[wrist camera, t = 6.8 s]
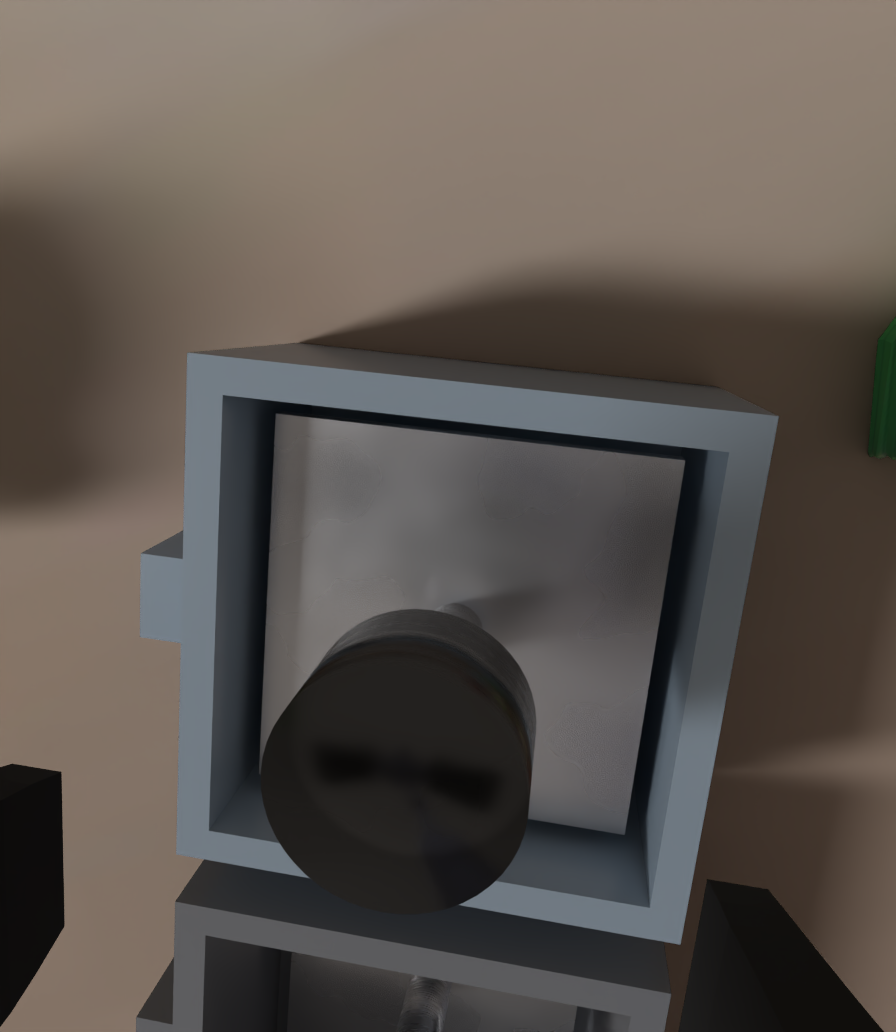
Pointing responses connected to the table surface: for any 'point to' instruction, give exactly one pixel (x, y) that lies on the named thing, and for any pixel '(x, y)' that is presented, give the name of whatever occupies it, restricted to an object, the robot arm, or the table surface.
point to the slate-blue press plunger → (452, 648)
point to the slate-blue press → (485, 410)
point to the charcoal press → (384, 955)
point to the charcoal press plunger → (408, 1003)
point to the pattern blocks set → (884, 398)
